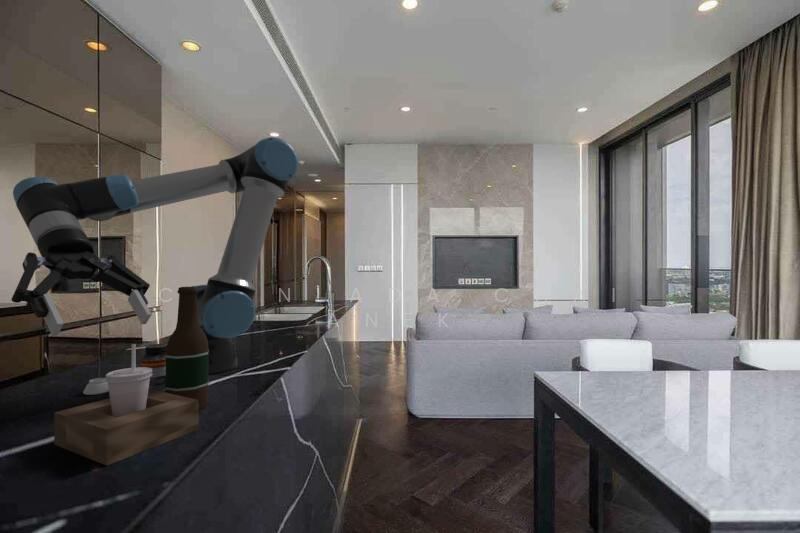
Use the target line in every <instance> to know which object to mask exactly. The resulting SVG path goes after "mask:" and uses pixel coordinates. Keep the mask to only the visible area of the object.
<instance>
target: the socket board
mask: <svg viewBox="0 0 800 533" xmlns="http://www.w3.org/2000/svg"><path fill="white" fill-rule="evenodd" d="M53 412H54V411H53ZM199 414H200V410H199V400H197V399H192V398H188V397H183V396H178V395H174V394H169V393H165V392H160V391H156V390H151V389H148V396H147V403H146V409H144V410H140V411H137V412H134V413H131V414H127V415H124V416H121V417H114V416H113V415H112V408H111V401H110V397H108V398H104V399H101V400H98V401H97V400H96V401H94V402H90V403H85V404H83V405H82V404H81V405H77V406H73V407H70V408H66V409H63V410H60V411H55V412H54V415H53V416H54V417H53V419H54V420H53V421H54V429H53V430H54V433H53V434H54V436H53V437H54V438H53V439H54V443H53V444H54V446H57V447H60V448H62V449H65V450H66V451H69V452H72V453H74V454H76V455H79V456H81V457H85V458H86V459H88V460H91V461H94V462H97V463H99V464H101V465H104V466H110V465H113V464H115V463H117V462H119V461H123V460H125V459H127V458H129V457H132V456H135V455H138V454H139V453H142V452H145V451H148V450H150V449H152V448H153V449H154V448H155V447H157V446H160V445H163V444H165V443H168V442H170V441H173V440H175V439H177V438H178V439H179V438H180V437H183V436H185V435H188V434H191V433H193V432H195V431H199V429H200V428H199V427H200V422H199V421H200V415H199Z"/></svg>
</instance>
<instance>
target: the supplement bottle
mask: <svg viewBox="0 0 800 533" xmlns="http://www.w3.org/2000/svg"><path fill="white" fill-rule="evenodd" d="M167 344H168V343H155V344H149V345H146V346H145V354H144V355H143V356H142V357H141V358H140V360H139V365H140V366H139V367H148V368H151V369H152V374H153V375H152V376H151V377H150V381H149V388H148V389H151V390H156V391H160V392H165V393H166V347H167Z"/></svg>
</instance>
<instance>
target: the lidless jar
mask: <svg viewBox="0 0 800 533" xmlns="http://www.w3.org/2000/svg"><path fill="white" fill-rule="evenodd" d="M105 379H106V377H98V378H93V379H92V378H91V379H89V380H88V383H87V384H86V386H85V387H84V390H83V391H82V393H83V394H84V395H86V396H95V395H101V394H105V393H109V388H108V382H105Z"/></svg>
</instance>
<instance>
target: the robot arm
mask: <svg viewBox="0 0 800 533" xmlns="http://www.w3.org/2000/svg"><path fill="white" fill-rule="evenodd" d="M299 166H300V164H299V156H298V155H297V153H296V151H295V149H294V148H293V146H292V145H291V144H290V143H288V142H287V141H286V140H285V139H282V138H280V137H275V136H274V137H273V136H272V137H271V136H270V137H267V138H263V139H261V140H259V141H257V142H256V144H255V145H253V146H252V147H250V148H248V149H246V150H245V151H243V152H241V153H239V154H238V155H235V156H233V157H229V158H225V159H221V160H220V161H219V162H218V163H217V164H215V165H214V164H213V165H210V166H204V167H199V168H198V167H197V168H193V169H187V170H182V171H176V172H172V173H171V172H170V173H166V174H160V175H155V176H150V177H145V178H144V177H143V178H139V179H135V180H133V179H132V180H131V179H130V177H128V175H126V174H123V173H121V174H114V175H111V174H108V175H106V176H101V177H96V178H90V179H86V180H80V181H75V182H70V183H69V182H68V183H59V184H58V183H56V181H54V180H52V179H51V178H47V177H46V178H45V177H41V176H40V177H39V176H32V177H31V176H30V177H28V178H27V177H26V178H24V179H22V180H20V181H19V182H17V183H16V185H14V187H13V191H12V195H13V196H12V197H13V200H14V202H15V206H16V208H17V210H18V212H19V213H20V216H21V217H22V220H23V221H24V223H25V226H26V227H27V229H28V230H29V233H30V235H31V238H32V239H33V241H34V243H35V244H36V247H37V250H38V252H39V254H40V256H37V253H34V252H27V253H26V255H25V257H24V259H23V262H22V267H23V268H22V269H23V273H22V275H21V277H20V280H19V282H18V284H17V286H16V287H15V288H16V289H15V290H14V293H13V295H12V297H11V302H13V303H17V304H18V303H21V302H25V303H26V304H25V305H26V306H25V307H27V308H29V309H32V311H33V312H34V316H35V317H37V318H43V320H44V321H45V324H46V327H47V328H48V330H49V332H50V335H51V336H52V337H53V336H58V335H59V334H60V332H61V330H62V328H63V326H64V321H63V319H62V317H61V315H60V313H59V310H58V309H57V307H56V305H55V303H54V300H53V298H52V295H51V294H50V293H48V292H49V291H50V290H51V289H52V288H53V287H54V286H55V285H56V284H58V283H59V281H61V279H62V278H66V279H67V280H77V279H79V280H89V279H90V280H92V281H94V282H95V283H98V282H101V283H102V284H104V285H106V286H108V287H111V288H112V289H114V290H116V291H118V292H120V293H122V294H124V295H126V296H127V297H128V298H127V302H128V304H130V306H131V308H132V310H133V312H134V313H135V315H136V316H137V319H138V320H139V322H140V325H147V323H148V322H149V320H150V318H151V317H152V315H153V314H152V312H151V311H150V308H149V307H148V304H149V302H148V299H147V298H146V296H145V295H146V293H147V291H148V290H149V288H150V287H151V286H150V283H148V282H147V281H146V280H144V279H143V278H142V277H141V276H139V275H137V273H135V272H134V271H132V269H129V268H128V267H127V266H125V265H124V264H123V263H121V262H120V260H118V258H117V256H115V255H113V254H109V255H108V256H107V257H105V258H100V257H99V256H98V255H96V253H95V252H94V250H95V249H94V247H93V245H92V243H91V241H90V239H89V238H88V236H87V234H86V232H85V230H84V228H83V227H82V225H81V224H80V222H79V221H80V220H86V219H89V220H91V221H95V222H104V221H108V220H111V219H112V218H114V217H115V218H116V217H120V216H124V215H128V214H132V213H136V212H140V211H145V210H151V209H153V208H158V207H162V206H166V205H170V204H171V205H172V204H176V203H181V202H185V201H189V200H193V199H197V198H202V197H206V196H211V195H214V194H219V193H224V192H228V193H230V194H235V193H240V192H242V194H241V199H240V201H239V205H238V207H237V211H236V214H235V218H234V220H233V223H232V226H231V228H230V232H229V236H228V239H227V242H226V245H225V248H224V251H223V254H222V257H221V262H220V264H219V267H218V270H217V273H216V274H215V275H213V276H211V277H209V278H208V280H207V284H200V285H191V286H190V287H197V289H198V292H197V308H198V320H199V326H200V328H201V329H202V330H203V332H204V333H205V335H206V337H207V340H208V349H209V353H208V375H211V374H217V373H218V374H219V373H223V372H227V371H230V370H233V369H235V368H237V366H238V357H237V355H236V351H235V348H234V345H233V342H232V340H231V339H232V338H236V337H238V336H240V335H242V334H244V333H245V332H246V331H248V329H249V328H250V327H251V326H252V324H253V322H254V320H255V318H256V317H255V316H256V307H255V305H254V302H253V301H254V298H255V295H256V288H255V286H254V284H253V281H254V276H255V274H256V270H257V267H258V263H259V259H260V256H261V252H262V250H263V246H264V243H265V238H266V236H267V233H268V229H269V226H270V223H271V219H272V217H273V213H274V210H275V207H276V202H277V200H278V199H279V198H282V197H284V196H285V193H286V190H287V186H288V184H289V180H291V179H293V178H294V177H295V175H296V174H297V172H298V170H299ZM41 266H44V267H45V268H46V269H48V270H50V271H51V272H50V273H49V274H47V275H46V276H45V277H44V279H42V280H41V282H39V284H37V285H36V286H35V287H34V288H33V290H29V289H28V288H29V286H30V283H31V280H32V278H33V276H34V274H35V271H37V270H38V269H40V268H41ZM97 270H98V273H97V274H96V272H97Z"/></svg>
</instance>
